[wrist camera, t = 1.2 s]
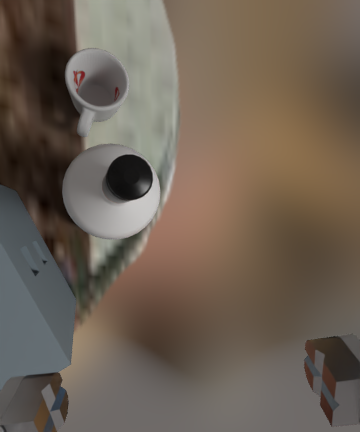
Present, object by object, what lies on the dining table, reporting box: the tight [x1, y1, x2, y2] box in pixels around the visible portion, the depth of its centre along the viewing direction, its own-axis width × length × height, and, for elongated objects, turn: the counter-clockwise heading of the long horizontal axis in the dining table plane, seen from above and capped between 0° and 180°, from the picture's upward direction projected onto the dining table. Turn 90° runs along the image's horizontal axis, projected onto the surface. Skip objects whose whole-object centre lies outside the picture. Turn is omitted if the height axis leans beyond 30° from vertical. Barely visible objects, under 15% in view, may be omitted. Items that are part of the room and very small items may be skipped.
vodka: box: [62, 144, 160, 239], centre depth 30 cm, size 9×9×30 cm
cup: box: [65, 48, 129, 137], centre depth 40 cm, size 11×8×8 cm
